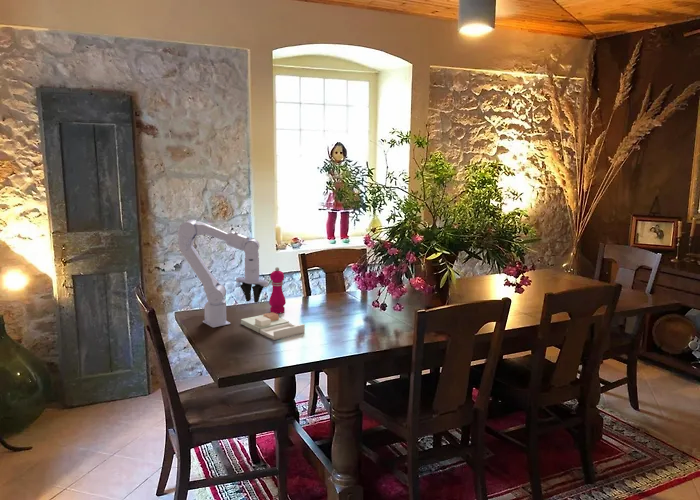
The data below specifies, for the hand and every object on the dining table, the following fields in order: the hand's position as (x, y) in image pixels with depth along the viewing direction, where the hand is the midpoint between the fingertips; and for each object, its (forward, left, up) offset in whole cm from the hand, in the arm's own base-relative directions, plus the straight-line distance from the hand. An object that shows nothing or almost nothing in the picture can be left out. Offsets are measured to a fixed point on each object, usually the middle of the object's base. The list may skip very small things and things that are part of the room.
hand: (252, 301), depth 229 cm
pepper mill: (-8, +17, -10) cm, 22 cm away
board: (+5, +3, -9) cm, 11 cm away
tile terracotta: (+5, +6, -7) cm, 11 cm away
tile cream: (+8, 0, -7) cm, 11 cm away
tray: (+17, +3, -9) cm, 20 cm away
